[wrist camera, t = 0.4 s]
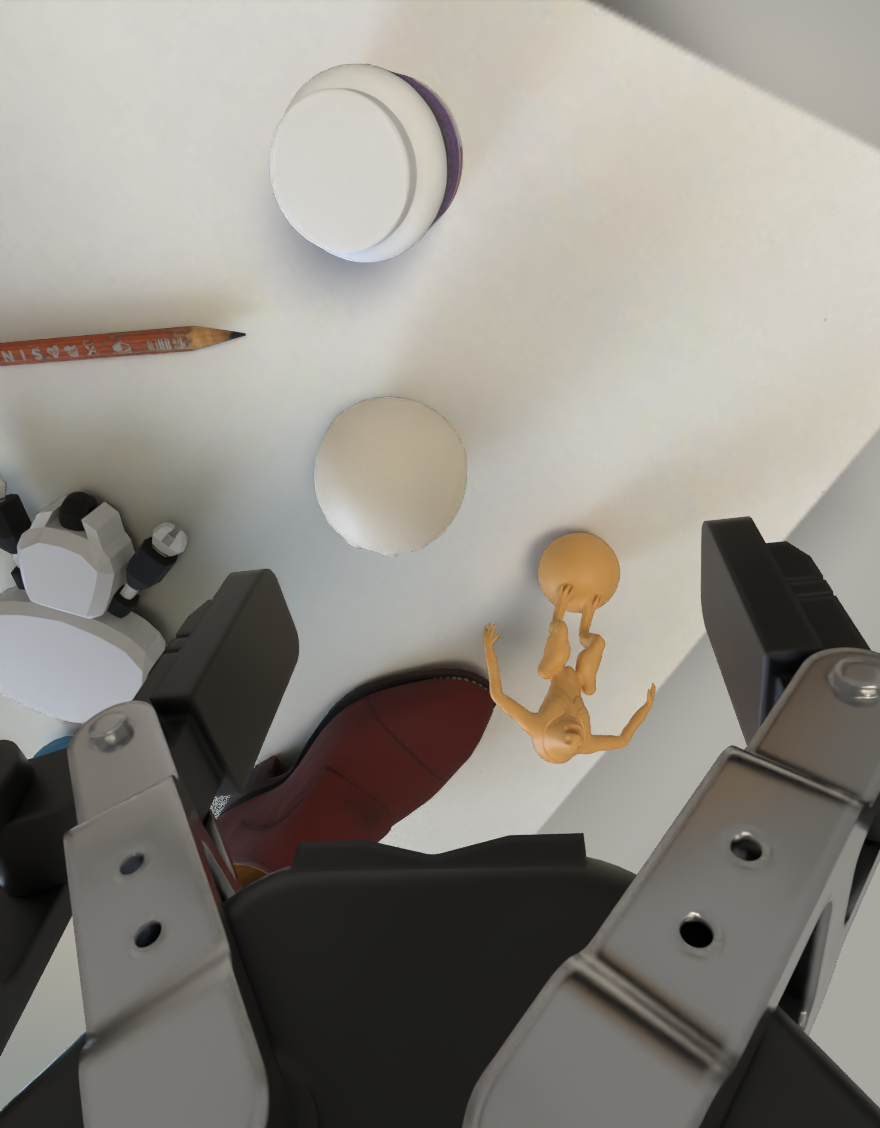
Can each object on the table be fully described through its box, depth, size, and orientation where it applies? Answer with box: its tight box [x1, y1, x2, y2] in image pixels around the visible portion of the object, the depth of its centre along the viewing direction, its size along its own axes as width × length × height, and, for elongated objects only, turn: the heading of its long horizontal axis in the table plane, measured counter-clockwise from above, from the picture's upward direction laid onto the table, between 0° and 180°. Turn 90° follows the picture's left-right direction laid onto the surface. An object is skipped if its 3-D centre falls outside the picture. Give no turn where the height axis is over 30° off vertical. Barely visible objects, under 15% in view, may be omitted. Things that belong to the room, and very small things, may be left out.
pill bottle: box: [270, 64, 463, 263], centre depth 23 cm, size 5×5×10 cm
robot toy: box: [0, 475, 188, 724], centre depth 39 cm, size 12×4×15 cm
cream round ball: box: [314, 397, 467, 556], centre depth 31 cm, size 7×7×7 cm
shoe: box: [216, 669, 496, 888], centre depth 42 cm, size 8×24×10 cm, turn 132°
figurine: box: [484, 533, 655, 764], centre depth 31 cm, size 8×6×12 cm
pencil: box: [0, 326, 246, 366], centre depth 32 cm, size 19×1×1 cm, turn 96°
